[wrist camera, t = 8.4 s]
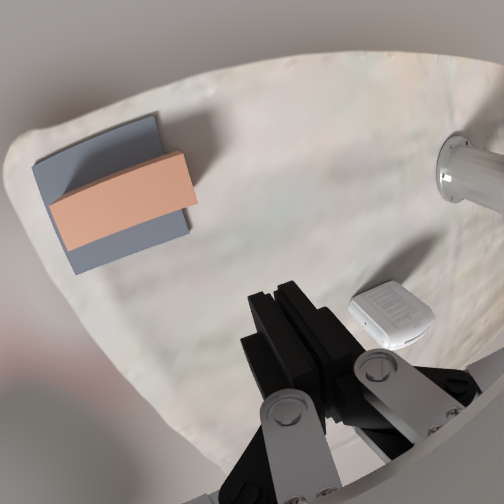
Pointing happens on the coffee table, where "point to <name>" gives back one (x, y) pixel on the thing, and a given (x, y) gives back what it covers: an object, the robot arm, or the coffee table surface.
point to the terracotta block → (123, 200)
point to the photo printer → (392, 315)
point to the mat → (98, 166)
